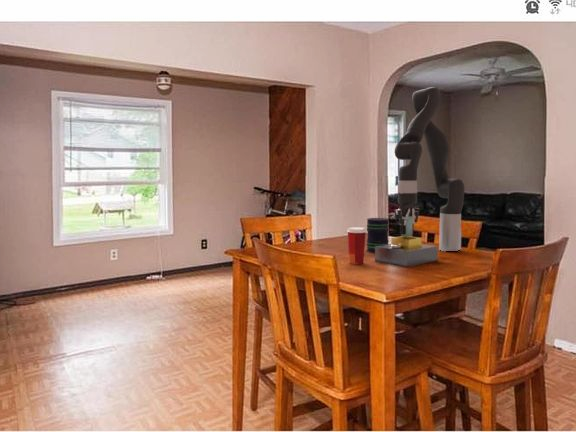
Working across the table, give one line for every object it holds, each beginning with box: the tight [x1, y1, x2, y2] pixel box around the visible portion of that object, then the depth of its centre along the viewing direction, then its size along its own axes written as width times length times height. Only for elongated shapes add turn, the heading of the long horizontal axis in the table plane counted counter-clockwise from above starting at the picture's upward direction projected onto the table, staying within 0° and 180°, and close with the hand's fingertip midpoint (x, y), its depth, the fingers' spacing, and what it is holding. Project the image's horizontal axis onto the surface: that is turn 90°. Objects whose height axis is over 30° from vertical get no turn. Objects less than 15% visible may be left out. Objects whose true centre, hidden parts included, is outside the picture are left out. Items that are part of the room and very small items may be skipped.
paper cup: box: [346, 226, 367, 265], centre depth 187 cm, size 8×8×14 cm
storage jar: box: [366, 217, 390, 254], centre depth 214 cm, size 10×10×15 cm
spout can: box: [400, 216, 413, 237], centre depth 190 cm, size 4×4×10 cm
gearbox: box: [374, 235, 439, 268], centre depth 191 cm, size 20×16×10 cm
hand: (406, 233), depth 190 cm, fingers closed on spout can, 4 cm apart
